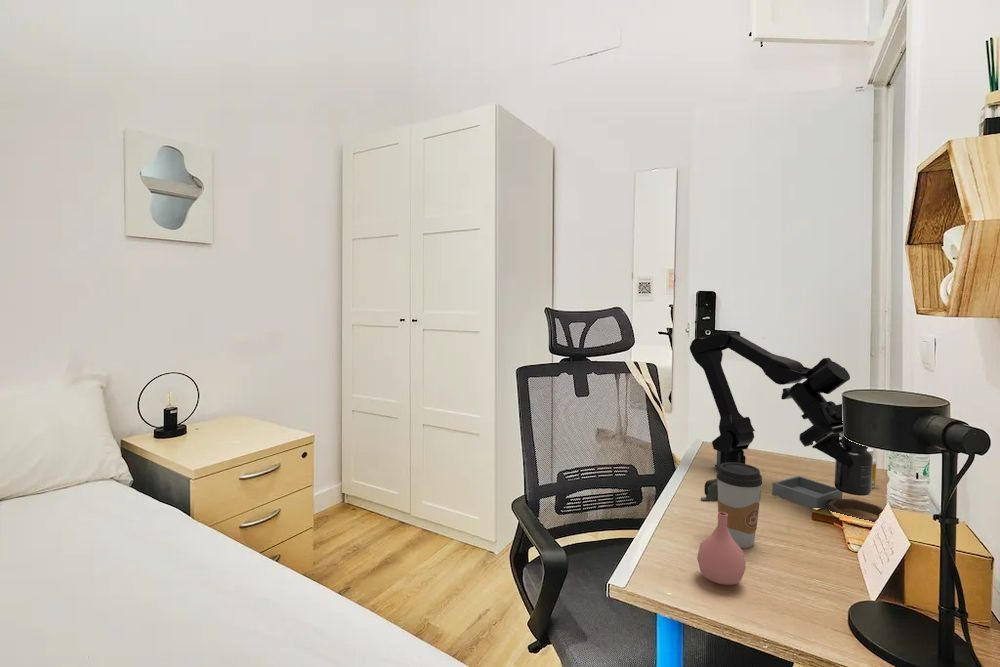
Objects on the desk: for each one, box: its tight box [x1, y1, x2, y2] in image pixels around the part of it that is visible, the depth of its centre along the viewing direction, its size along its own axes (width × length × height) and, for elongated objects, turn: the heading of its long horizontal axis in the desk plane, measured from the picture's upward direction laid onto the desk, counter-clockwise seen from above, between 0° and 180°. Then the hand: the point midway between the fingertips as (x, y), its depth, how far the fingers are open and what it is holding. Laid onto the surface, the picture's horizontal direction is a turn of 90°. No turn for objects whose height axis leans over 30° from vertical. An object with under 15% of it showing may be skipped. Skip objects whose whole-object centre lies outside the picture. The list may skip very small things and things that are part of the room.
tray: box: [771, 475, 844, 510], centre depth 121 cm, size 11×11×3 cm
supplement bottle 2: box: [867, 447, 877, 489], centre depth 129 cm, size 5×5×10 cm
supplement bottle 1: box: [833, 436, 874, 497], centre depth 111 cm, size 7×7×12 cm
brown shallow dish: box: [827, 498, 884, 522], centre depth 111 cm, size 11×11×2 cm
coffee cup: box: [715, 462, 763, 549], centre depth 99 cm, size 8×8×15 cm
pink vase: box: [696, 511, 747, 586], centre depth 85 cm, size 8×8×12 cm
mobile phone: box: [700, 478, 762, 501], centre depth 120 cm, size 5×3×15 cm
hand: (860, 464), depth 110 cm, fingers closed on supplement bottle 1, 7 cm apart
